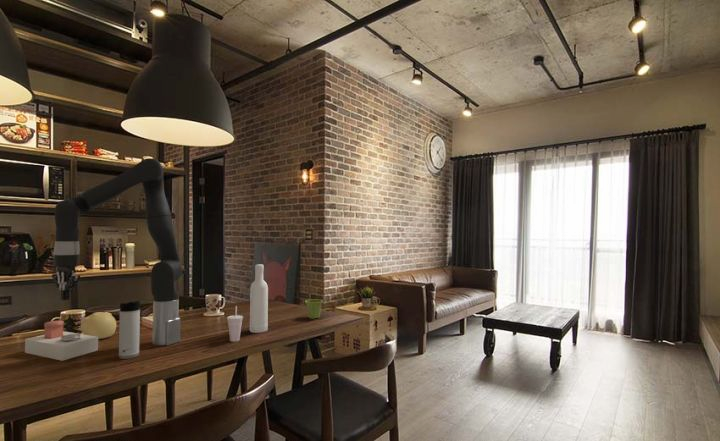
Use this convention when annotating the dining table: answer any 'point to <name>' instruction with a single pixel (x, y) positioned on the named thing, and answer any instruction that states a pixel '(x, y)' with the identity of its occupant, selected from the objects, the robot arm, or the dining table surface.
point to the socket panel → (61, 346)
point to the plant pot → (314, 308)
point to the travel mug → (129, 330)
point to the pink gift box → (53, 329)
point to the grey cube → (70, 337)
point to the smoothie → (234, 326)
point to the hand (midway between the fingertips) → (64, 299)
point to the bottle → (259, 302)
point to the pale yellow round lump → (99, 325)
